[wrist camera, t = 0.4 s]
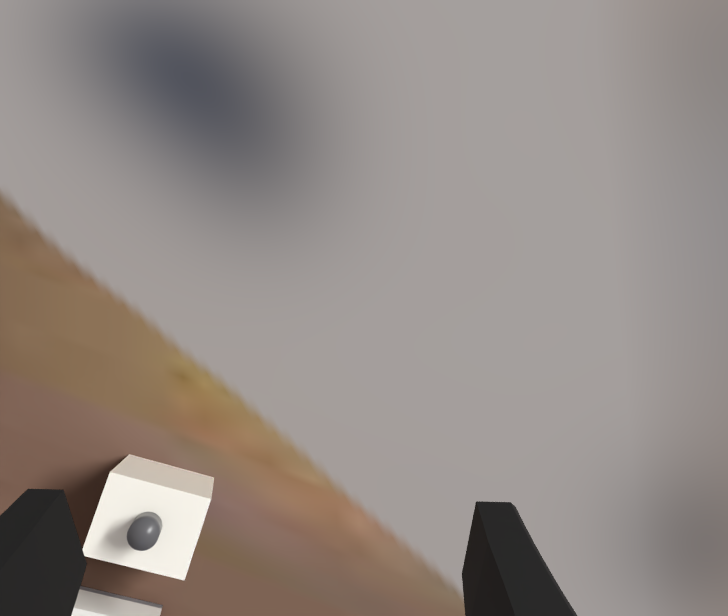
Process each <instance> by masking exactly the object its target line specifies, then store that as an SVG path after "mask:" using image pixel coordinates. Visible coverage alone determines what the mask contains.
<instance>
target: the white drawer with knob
mask: <svg viewBox="0 0 728 616" xmlns="http://www.w3.org/2000/svg"><path fill="white" fill-rule="evenodd" d="M213 482H214V477H210V476H207V475H203V474H199V473H196V472H192V471H188V470H185V469H181V468H178V467H174V466H170V465H167V464H163V463H159V462H156V461H152V460H148V459H145V458H141V457H137V456H134V455H130V454H129V455H128V456H127V457H126V458H125V459H124V460H122V461H121V462H120V463H119V464H118V465H117V466H116V467H115V468H114V469H113V470H111V471H110V473H109V476H108V479H107V481H106V484H105V487H104V490H103V493H102V496H101V498H100V501H99V504H98V507H97V510H96V513H95V515H94V518H93V521H92V524H91V527H90V529H89V532H88V535H87V538H86V541H85V544H84V546H83V549H82V550H83V553H84V556H86V557H90V558H94V559H99V560H103V561H107V562H111V563H115V564H119V565H123V566H127V567H131V568H135V569H140V570H144V571H148V572H152V573H156V574H160V575H164V576H168V577H172V578H177V579H181V580H185V577H186V574H187V571H188V568H189V565H190V562H191V559H192V556H193V553H194V550H195V546H196V543H197V540H198V537H199V534H200V531H201V528H202V525H203V522H204V519H205V516H206V513H207V510H208V507H209V504H210V501H211V496H212V489H213Z"/></svg>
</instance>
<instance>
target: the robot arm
mask: <svg viewBox="0 0 728 616" xmlns="http://www.w3.org/2000/svg"><path fill="white" fill-rule="evenodd" d="M86 565H87V563H86V560H85V556H84V553H83V550H82V547H81V544H80V541H79V537H78V534H77V531H76V528H75V525H74V522H73V518H72V515H71V512H70V509H69V506H68V503H67V499H66V496H65V493H64V490H50V489H28V490H26V491H25V492H24V493H23V494H22V495H21V496H20V497H19V498H18V499H17V500H16V501H15V502H14V503H13V504H12V505H11V506H10V507H9V508H8V509H7V510H6V511H5V512H4V513H3V514H2V515H1V516H0V616H71V615H72V612H73V608H74V605H75V602H76V599H77V596H78V592H79V589H80V586H81V582H82V579H83V575H84V572H85V568H86ZM462 580H463V592H464V604H465V615H466V616H577V615H576V613H575V611H574V610H573V608H572V607H571V605H570V603H569V602H568V600H567V599H566V597H565V596H564V594H563V592H562V591H561V589H560V587H559V586H558V584H557V582H556V581H555V579H554V577H553V576H552V574H551V572H550V571H549V569H548V567H547V565H546V563H545V562H544V560H543V558H542V556H541V555H540V553H539V551H538V549H537V547H536V546H535V544H534V542H533V540H532V538H531V536H530V535H529V533H528V531H527V529H526V527H525V525H524V523H523V521H522V519H521V517H520V515H519V513H518V511H517V509H516V507H515V506H514V505H513V504H512V503H510V502H476V505H475V510H474V515H473V520H472V526H471V530H470V535H469V541H468V546H467V551H466V556H465V561H464V566H463V571H462Z"/></svg>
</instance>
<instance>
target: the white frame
mask: <svg viewBox="0 0 728 616" xmlns="http://www.w3.org/2000/svg"><path fill="white" fill-rule="evenodd" d="M162 606H163V605H160V604H155V603H151V602H147V601H143V600H138V599H134V598H130V597H126V596H121V595H117V594H113V593H109V592H104V591H100V590H96V589H92V588H88V587H83V586H80V589H79V592H78V596H77V599H76V602H75V605H74V608H73V612H72V615H71V616H160V613H161V610H162Z"/></svg>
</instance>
